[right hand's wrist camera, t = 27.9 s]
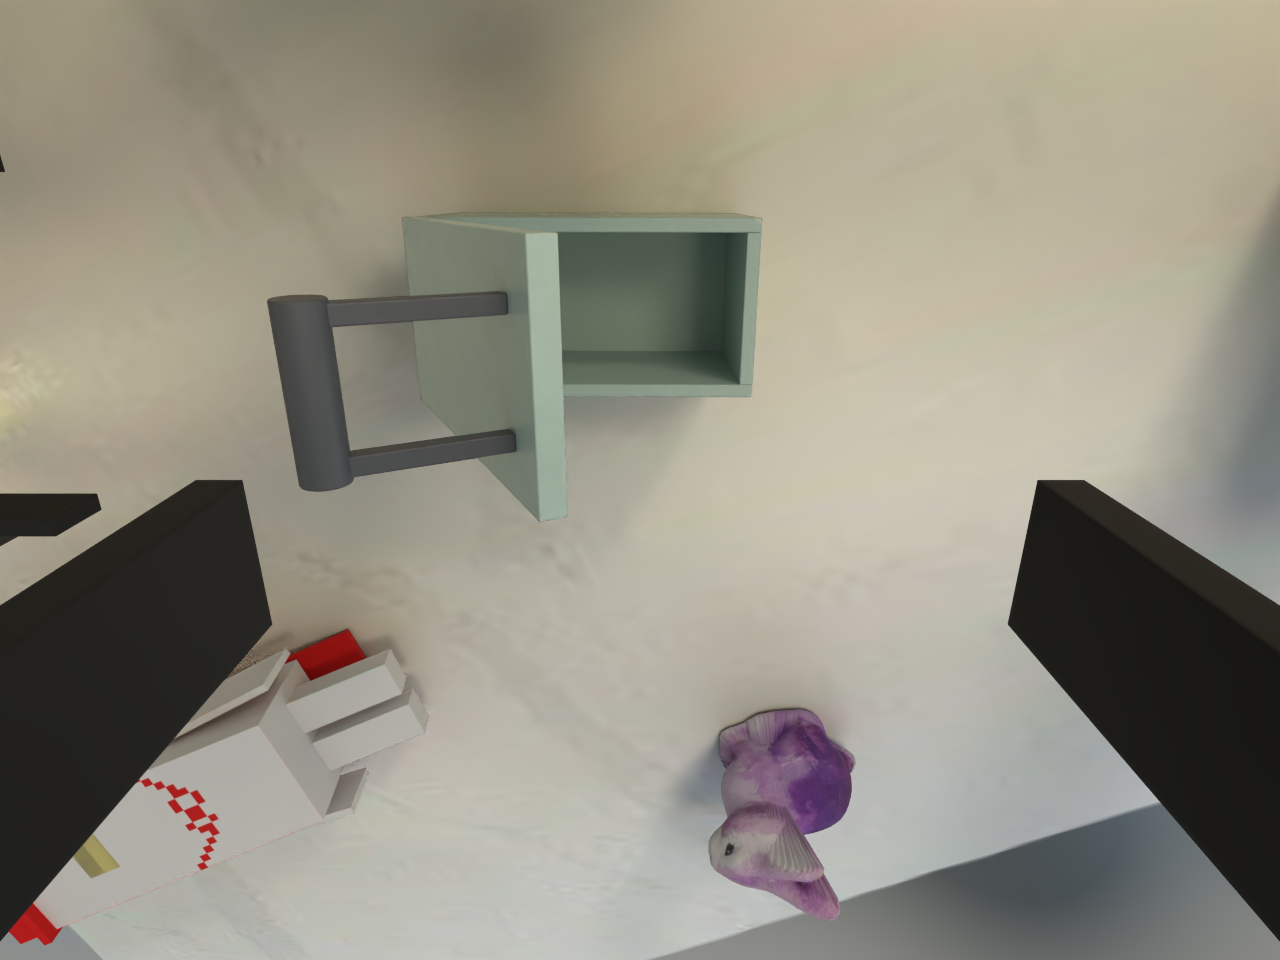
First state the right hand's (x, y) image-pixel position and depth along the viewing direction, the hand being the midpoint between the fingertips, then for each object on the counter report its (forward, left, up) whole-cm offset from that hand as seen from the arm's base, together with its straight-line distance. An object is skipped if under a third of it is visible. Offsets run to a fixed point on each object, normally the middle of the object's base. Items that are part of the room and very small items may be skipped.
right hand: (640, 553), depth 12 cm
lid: (+3, -6, -20) cm, 21 cm away
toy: (+44, -10, -38) cm, 59 cm away
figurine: (+27, +28, -38) cm, 54 cm away
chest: (+1, -2, -38) cm, 38 cm away
